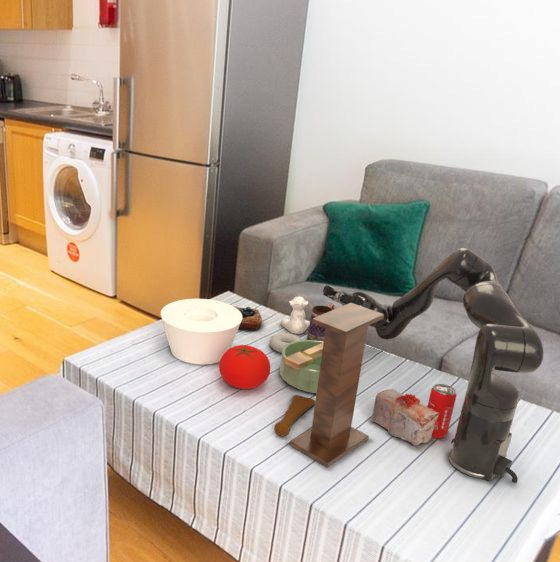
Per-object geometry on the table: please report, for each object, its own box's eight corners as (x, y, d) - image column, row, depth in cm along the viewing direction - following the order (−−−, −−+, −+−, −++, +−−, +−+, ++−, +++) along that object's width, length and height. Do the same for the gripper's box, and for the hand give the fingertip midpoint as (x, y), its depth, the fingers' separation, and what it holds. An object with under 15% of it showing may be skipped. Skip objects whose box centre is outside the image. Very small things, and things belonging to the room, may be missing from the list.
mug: (322, 351, 177) (327, 314, 173) (301, 343, 182) (306, 307, 178) (339, 340, 184) (344, 305, 179) (319, 333, 188) (323, 298, 184)
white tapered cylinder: (143, 349, 178) (143, 313, 174) (196, 326, 193) (197, 292, 189) (203, 379, 162) (205, 340, 157) (255, 351, 177) (259, 315, 172)
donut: (296, 359, 173) (307, 345, 180) (298, 349, 171) (308, 335, 179) (264, 350, 178) (275, 337, 185) (265, 340, 176) (276, 328, 184)
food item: (438, 441, 136) (446, 405, 132) (417, 453, 132) (425, 416, 128) (386, 413, 147) (392, 378, 143) (365, 423, 143) (371, 388, 139)
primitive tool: (294, 396, 154) (296, 384, 152) (316, 402, 151) (317, 390, 150) (272, 434, 138) (273, 422, 137) (295, 441, 136) (297, 429, 134)
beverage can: (445, 442, 136) (456, 397, 131) (420, 434, 138) (430, 391, 134) (447, 430, 140) (458, 387, 135) (423, 424, 142) (433, 381, 138)
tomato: (244, 366, 168) (246, 333, 165) (278, 385, 159) (282, 351, 155) (207, 381, 161) (209, 347, 157) (241, 402, 151) (244, 366, 147)
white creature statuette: (309, 325, 194) (314, 291, 190) (313, 336, 186) (317, 302, 182) (280, 323, 195) (284, 290, 191) (282, 334, 187) (286, 300, 183)
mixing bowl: (363, 380, 161) (367, 358, 158) (322, 403, 151) (326, 379, 148) (306, 355, 175) (309, 334, 172) (265, 374, 164) (268, 352, 162)
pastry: (226, 315, 202) (227, 299, 200) (262, 318, 199) (263, 302, 197) (223, 328, 192) (224, 312, 190) (260, 332, 189) (262, 316, 187)
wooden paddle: (334, 340, 168) (335, 333, 167) (347, 346, 165) (349, 339, 164) (284, 363, 156) (285, 356, 155) (298, 370, 153) (299, 362, 152)
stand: (368, 440, 136) (391, 314, 124) (327, 467, 127) (347, 335, 115) (331, 420, 144) (349, 300, 132) (289, 445, 135) (305, 318, 123)
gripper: (347, 289, 174) (322, 273, 163) (392, 304, 163) (369, 288, 152) (336, 312, 174) (310, 298, 163) (381, 328, 163) (357, 314, 152)
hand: (339, 293), depth 157 cm, fingers open, 8 cm apart
